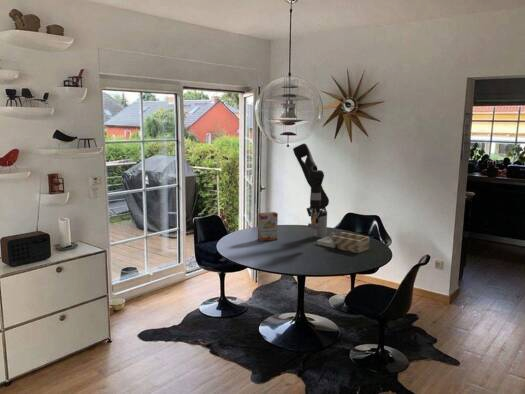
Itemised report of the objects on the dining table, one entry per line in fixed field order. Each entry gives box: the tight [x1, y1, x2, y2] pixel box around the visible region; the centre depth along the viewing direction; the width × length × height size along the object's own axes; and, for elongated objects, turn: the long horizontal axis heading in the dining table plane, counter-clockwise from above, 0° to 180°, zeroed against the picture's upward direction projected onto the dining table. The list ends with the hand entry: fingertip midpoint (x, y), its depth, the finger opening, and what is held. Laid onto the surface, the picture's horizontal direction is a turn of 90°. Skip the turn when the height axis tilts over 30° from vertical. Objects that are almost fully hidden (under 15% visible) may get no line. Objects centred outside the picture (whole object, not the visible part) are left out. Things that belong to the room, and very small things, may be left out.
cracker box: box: [257, 211, 279, 242], centre depth 339 cm, size 14×6×21 cm, turn 112°
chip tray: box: [316, 235, 338, 249], centre depth 331 cm, size 15×16×3 cm
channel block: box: [331, 231, 371, 254], centre depth 321 cm, size 22×15×8 cm
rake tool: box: [307, 213, 319, 230], centre depth 317 cm, size 4×8×10 cm, turn 140°
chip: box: [329, 231, 338, 239], centre depth 329 cm, size 4×4×4 cm
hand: (314, 222), depth 318 cm, fingers closed on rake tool, 3 cm apart
